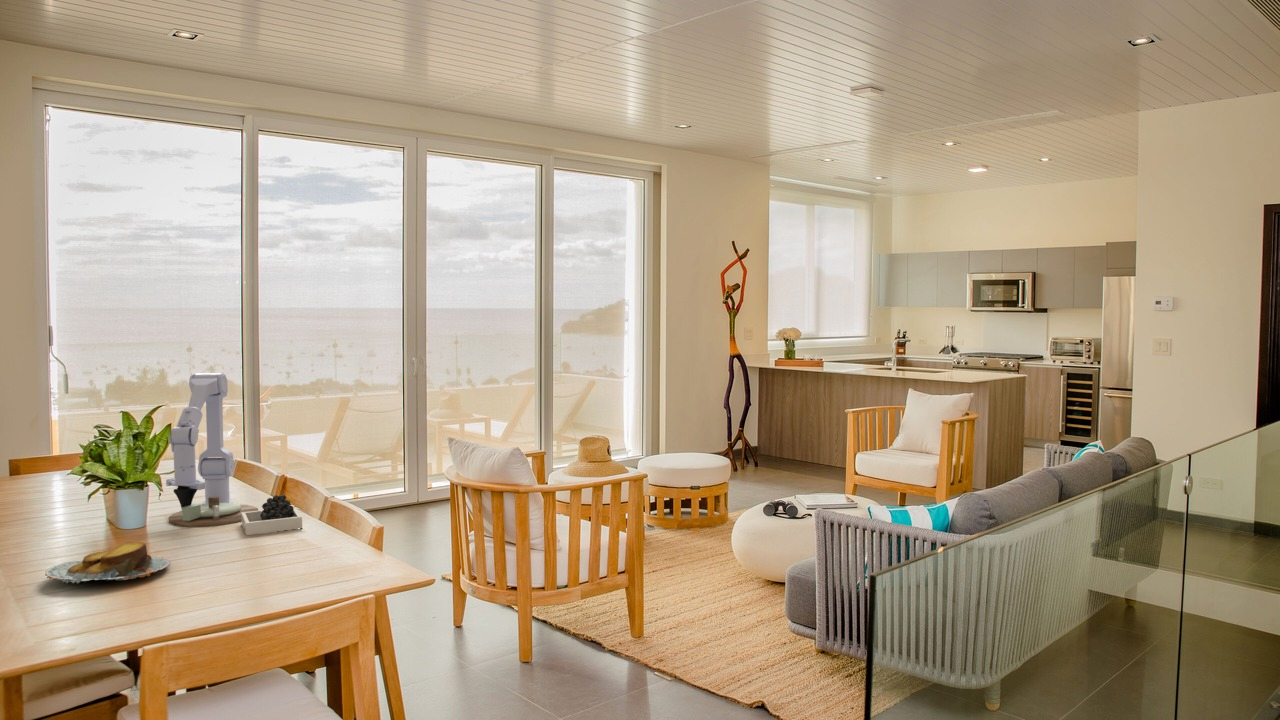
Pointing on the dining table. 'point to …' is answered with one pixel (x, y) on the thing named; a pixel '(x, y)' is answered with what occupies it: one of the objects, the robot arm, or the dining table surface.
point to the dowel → (215, 513)
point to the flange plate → (208, 510)
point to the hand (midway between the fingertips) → (186, 511)
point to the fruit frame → (269, 523)
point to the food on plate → (109, 565)
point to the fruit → (276, 508)
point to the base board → (208, 521)
